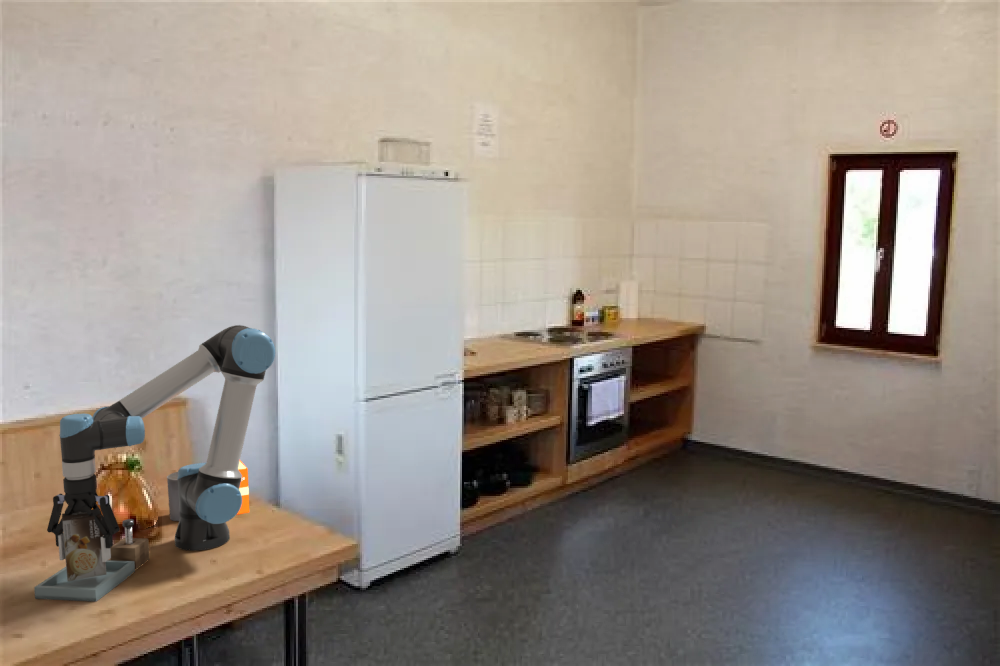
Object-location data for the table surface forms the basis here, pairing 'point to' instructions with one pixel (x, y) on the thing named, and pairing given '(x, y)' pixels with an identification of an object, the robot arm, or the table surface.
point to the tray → (84, 583)
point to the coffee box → (82, 546)
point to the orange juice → (244, 488)
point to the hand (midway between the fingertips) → (85, 559)
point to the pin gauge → (128, 531)
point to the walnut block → (131, 551)
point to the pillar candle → (173, 496)
